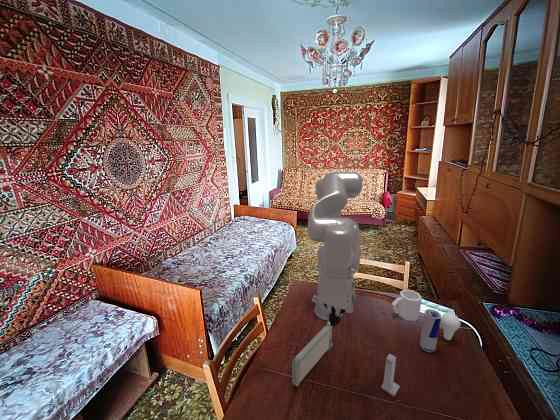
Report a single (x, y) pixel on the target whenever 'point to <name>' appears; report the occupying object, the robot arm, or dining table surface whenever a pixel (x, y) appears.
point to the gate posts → (389, 369)
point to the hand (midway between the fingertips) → (334, 323)
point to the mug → (408, 305)
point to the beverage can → (430, 330)
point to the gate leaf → (310, 355)
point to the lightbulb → (450, 325)
